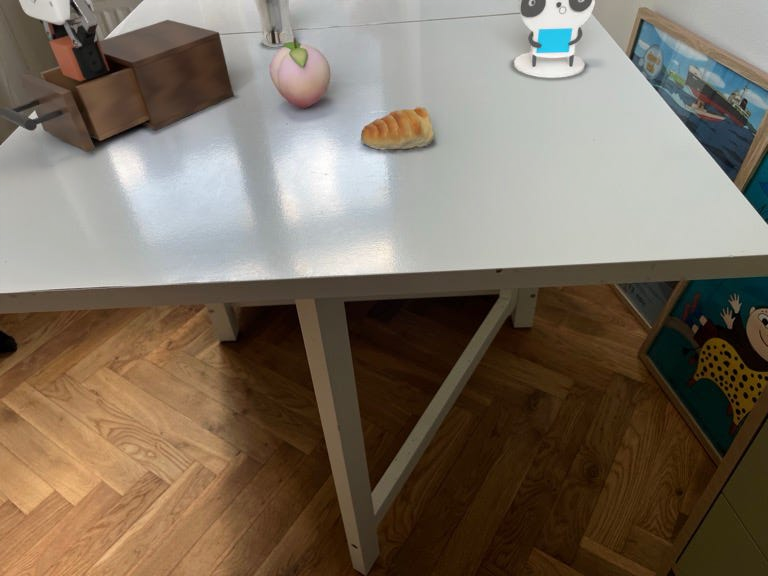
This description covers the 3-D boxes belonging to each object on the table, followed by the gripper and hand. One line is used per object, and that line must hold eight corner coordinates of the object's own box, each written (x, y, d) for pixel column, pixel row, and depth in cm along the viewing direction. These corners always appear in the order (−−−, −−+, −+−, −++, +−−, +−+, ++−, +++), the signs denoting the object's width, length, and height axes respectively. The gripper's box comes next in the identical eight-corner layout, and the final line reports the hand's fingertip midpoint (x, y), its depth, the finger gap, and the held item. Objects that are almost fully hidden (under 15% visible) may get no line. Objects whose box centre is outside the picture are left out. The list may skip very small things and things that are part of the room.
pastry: (369, 158, 71) (368, 130, 68) (355, 136, 75) (353, 109, 73) (438, 144, 73) (438, 117, 70) (419, 124, 77) (419, 97, 75)
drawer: (51, 167, 71) (22, 108, 65) (10, 144, 76) (-20, 88, 71) (171, 114, 81) (154, 60, 76) (127, 98, 87) (109, 46, 81)
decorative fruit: (344, 111, 82) (337, 41, 75) (292, 125, 79) (281, 53, 72) (318, 91, 88) (310, 24, 81) (269, 103, 85) (257, 34, 78)
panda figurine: (512, 77, 89) (523, -28, 79) (508, 53, 97) (518, -45, 87) (589, 77, 87) (611, -30, 77) (578, 52, 96) (596, -47, 86)
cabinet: (155, 130, 79) (132, 62, 73) (107, 110, 85) (82, 46, 79) (233, 95, 88) (219, 32, 81) (184, 80, 94) (167, 19, 87)
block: (80, 81, 73) (65, 46, 70) (63, 75, 75) (48, 41, 72) (110, 71, 75) (97, 37, 72) (92, 65, 77) (80, 31, 74)
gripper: (-45, -89, 65) (29, 69, 77) (24, -81, 56) (94, 94, 69) (18, -98, 69) (79, 53, 81) (91, -92, 61) (146, 75, 73)
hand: (85, 70), depth 75 cm, fingers closed on block, 4 cm apart
